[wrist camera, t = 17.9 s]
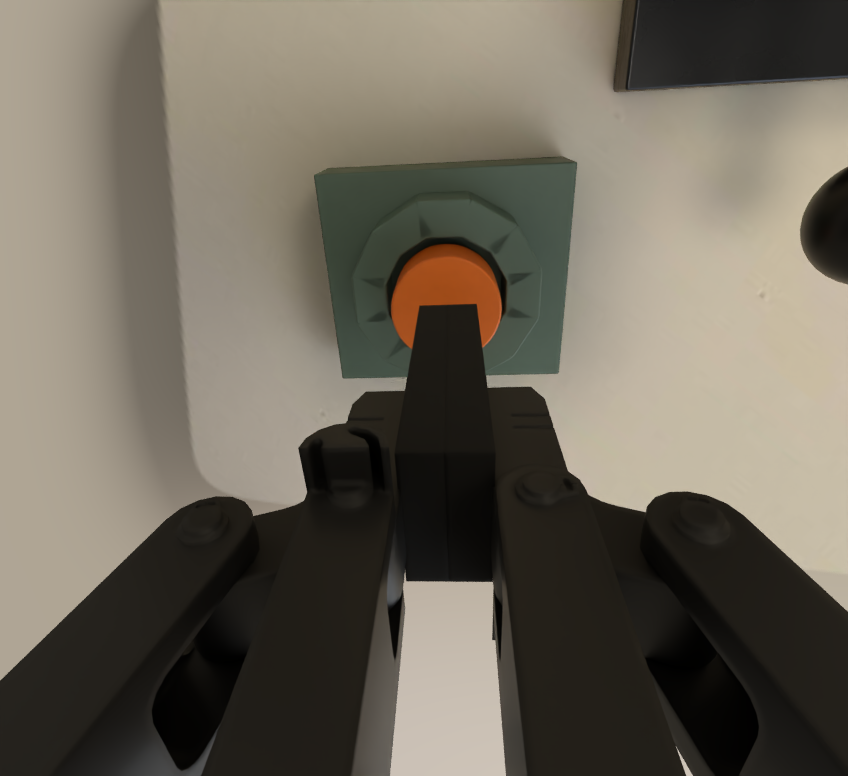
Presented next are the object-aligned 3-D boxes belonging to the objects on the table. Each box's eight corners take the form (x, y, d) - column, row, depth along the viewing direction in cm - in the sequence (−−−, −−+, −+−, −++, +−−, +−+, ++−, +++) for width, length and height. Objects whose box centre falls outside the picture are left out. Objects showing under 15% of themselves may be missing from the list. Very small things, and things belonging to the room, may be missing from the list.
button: (399, 342, 19) (395, 363, 17) (391, 245, 17) (386, 258, 16) (496, 340, 19) (500, 360, 17) (498, 241, 17) (503, 253, 15)
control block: (351, 356, 23) (333, 400, 20) (326, 168, 20) (300, 180, 16) (549, 351, 23) (567, 395, 19) (564, 156, 19) (590, 167, 15)
